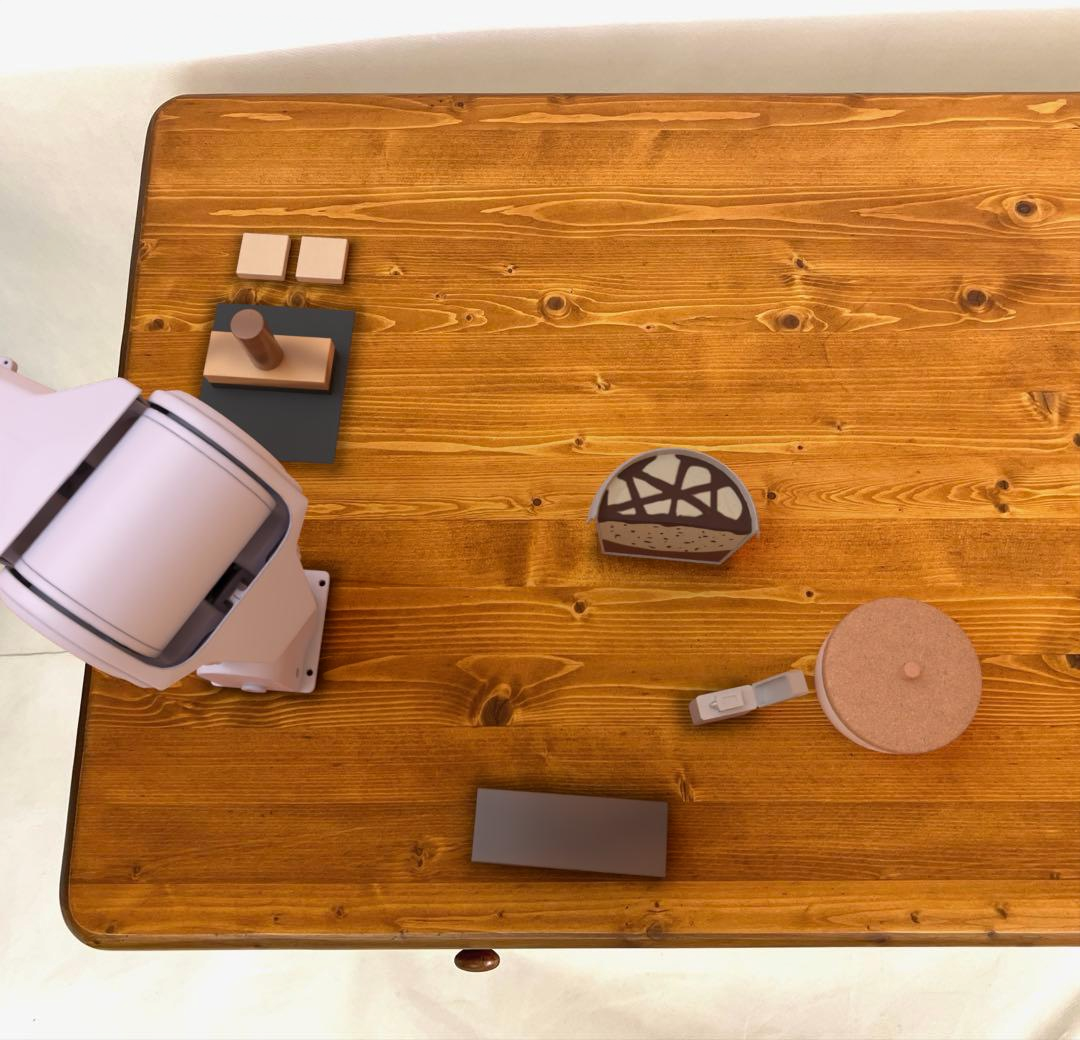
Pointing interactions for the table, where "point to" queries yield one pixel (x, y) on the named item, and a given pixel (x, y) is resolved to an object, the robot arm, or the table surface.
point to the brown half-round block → (674, 508)
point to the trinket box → (898, 677)
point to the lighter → (747, 697)
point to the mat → (283, 417)
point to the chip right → (322, 260)
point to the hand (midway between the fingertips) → (55, 465)
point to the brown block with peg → (268, 359)
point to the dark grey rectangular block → (570, 832)
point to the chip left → (263, 256)
